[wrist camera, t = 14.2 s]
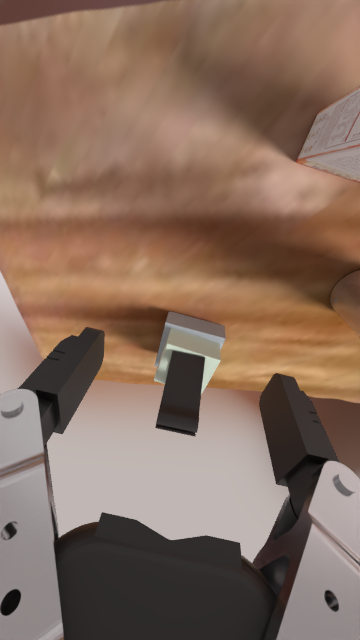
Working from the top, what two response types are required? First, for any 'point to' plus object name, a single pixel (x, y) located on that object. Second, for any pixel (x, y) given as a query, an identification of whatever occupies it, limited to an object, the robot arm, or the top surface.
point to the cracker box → (335, 139)
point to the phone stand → (182, 394)
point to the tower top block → (189, 346)
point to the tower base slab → (191, 330)
